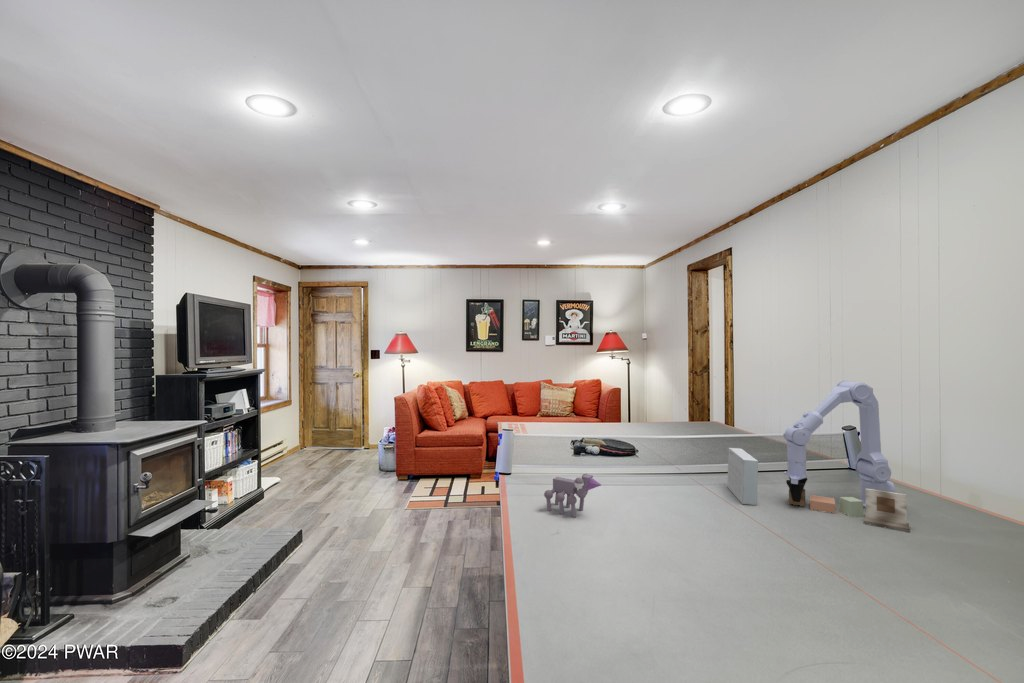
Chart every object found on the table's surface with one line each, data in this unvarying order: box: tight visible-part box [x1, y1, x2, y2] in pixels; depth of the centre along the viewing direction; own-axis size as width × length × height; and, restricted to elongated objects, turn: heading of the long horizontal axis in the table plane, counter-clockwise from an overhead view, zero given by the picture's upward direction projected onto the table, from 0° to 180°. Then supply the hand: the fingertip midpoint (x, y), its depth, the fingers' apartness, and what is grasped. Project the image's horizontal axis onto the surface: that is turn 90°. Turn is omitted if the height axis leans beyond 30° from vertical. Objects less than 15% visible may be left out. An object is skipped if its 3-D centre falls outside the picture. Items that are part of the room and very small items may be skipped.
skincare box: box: [726, 447, 759, 506], centre depth 173 cm, size 21×6×16 cm, turn 168°
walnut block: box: [788, 488, 806, 507], centre depth 163 cm, size 4×4×5 cm
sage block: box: [839, 496, 864, 517], centre depth 154 cm, size 4×4×5 cm
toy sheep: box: [543, 473, 602, 518], centre depth 156 cm, size 20×11×14 cm, turn 54°
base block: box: [809, 494, 836, 514], centre depth 159 cm, size 7×7×4 cm
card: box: [863, 489, 911, 533], centre depth 144 cm, size 11×6×10 cm, turn 51°
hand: (797, 499), depth 163 cm, fingers closed on walnut block, 4 cm apart
